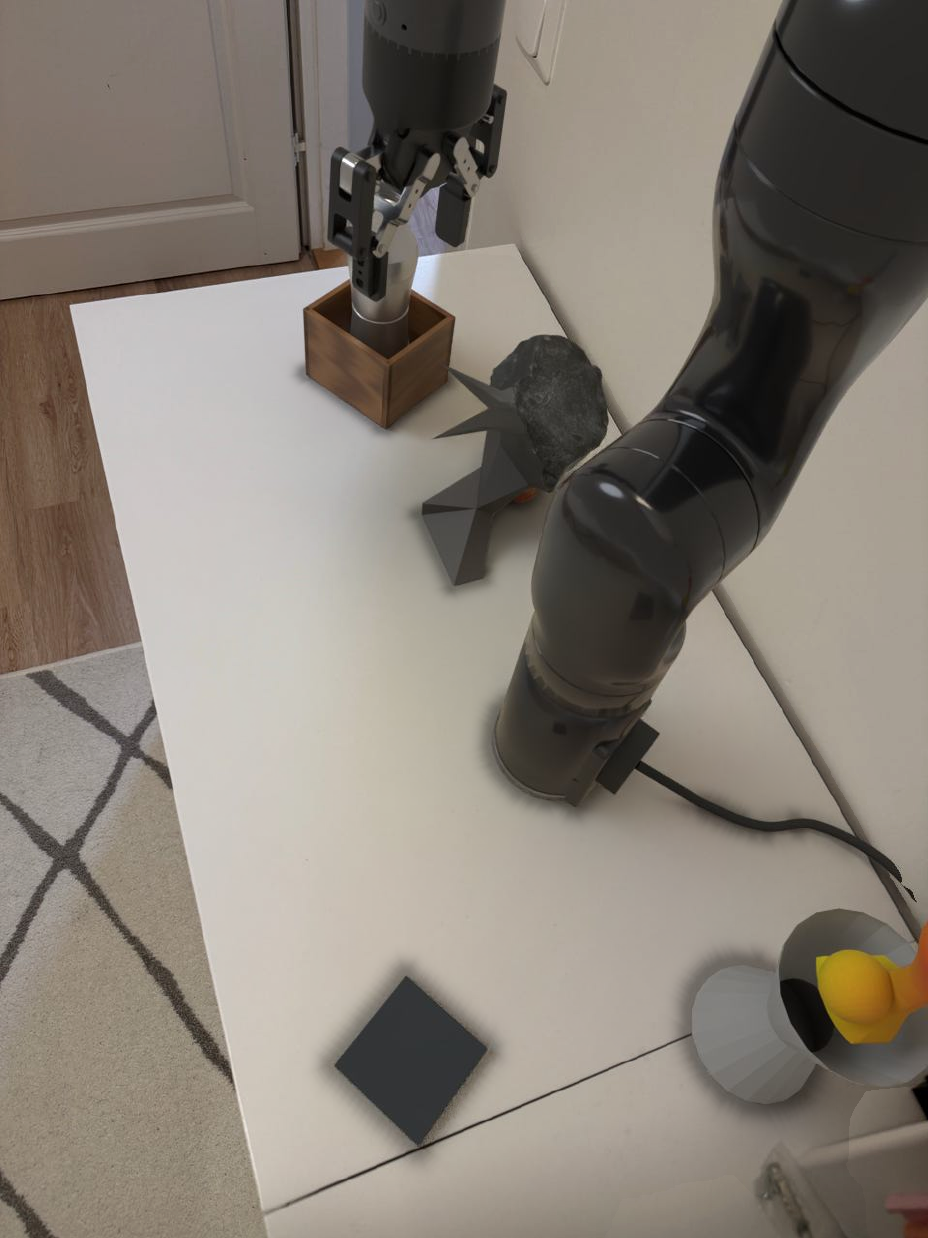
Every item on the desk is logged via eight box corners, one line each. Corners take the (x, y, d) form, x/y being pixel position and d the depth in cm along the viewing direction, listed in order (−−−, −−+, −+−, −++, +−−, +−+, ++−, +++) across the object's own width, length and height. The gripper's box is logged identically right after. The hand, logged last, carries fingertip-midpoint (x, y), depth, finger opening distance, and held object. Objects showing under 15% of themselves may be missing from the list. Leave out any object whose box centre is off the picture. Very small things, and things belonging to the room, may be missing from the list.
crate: (447, 380, 91) (455, 316, 84) (385, 429, 86) (388, 365, 80) (370, 329, 94) (372, 263, 87) (305, 374, 89) (302, 308, 82)
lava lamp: (800, 961, 64) (1193, 774, 34) (832, 1105, 59) (1321, 1031, 29) (678, 963, 63) (975, 771, 33) (701, 1109, 58) (1070, 1037, 28)
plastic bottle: (413, 359, 92) (428, 176, 75) (404, 405, 88) (418, 224, 72) (351, 349, 92) (353, 163, 75) (339, 395, 88) (338, 210, 71)
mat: (486, 1049, 58) (488, 1048, 58) (417, 1146, 55) (418, 1146, 54) (405, 976, 60) (406, 975, 60) (334, 1066, 57) (334, 1065, 56)
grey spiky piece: (608, 544, 82) (668, 401, 67) (453, 585, 78) (480, 441, 62) (544, 434, 88) (586, 280, 73) (399, 465, 84) (411, 309, 69)
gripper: (401, 86, 44) (384, 343, 57) (564, -1, 50) (514, 248, 64) (289, 21, 45) (298, 285, 59) (461, -54, 52) (434, 199, 66)
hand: (410, 266), depth 62 cm, fingers open, 8 cm apart
